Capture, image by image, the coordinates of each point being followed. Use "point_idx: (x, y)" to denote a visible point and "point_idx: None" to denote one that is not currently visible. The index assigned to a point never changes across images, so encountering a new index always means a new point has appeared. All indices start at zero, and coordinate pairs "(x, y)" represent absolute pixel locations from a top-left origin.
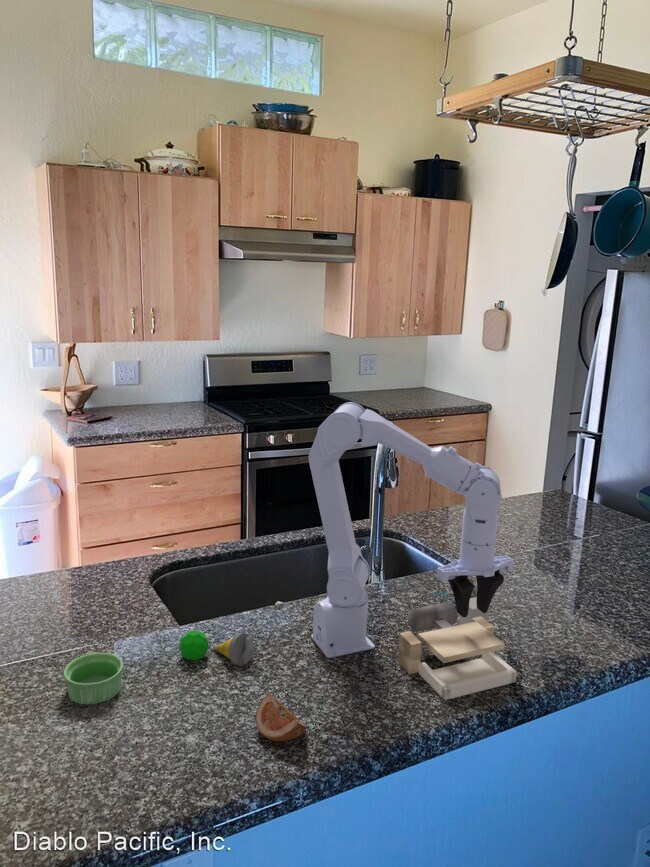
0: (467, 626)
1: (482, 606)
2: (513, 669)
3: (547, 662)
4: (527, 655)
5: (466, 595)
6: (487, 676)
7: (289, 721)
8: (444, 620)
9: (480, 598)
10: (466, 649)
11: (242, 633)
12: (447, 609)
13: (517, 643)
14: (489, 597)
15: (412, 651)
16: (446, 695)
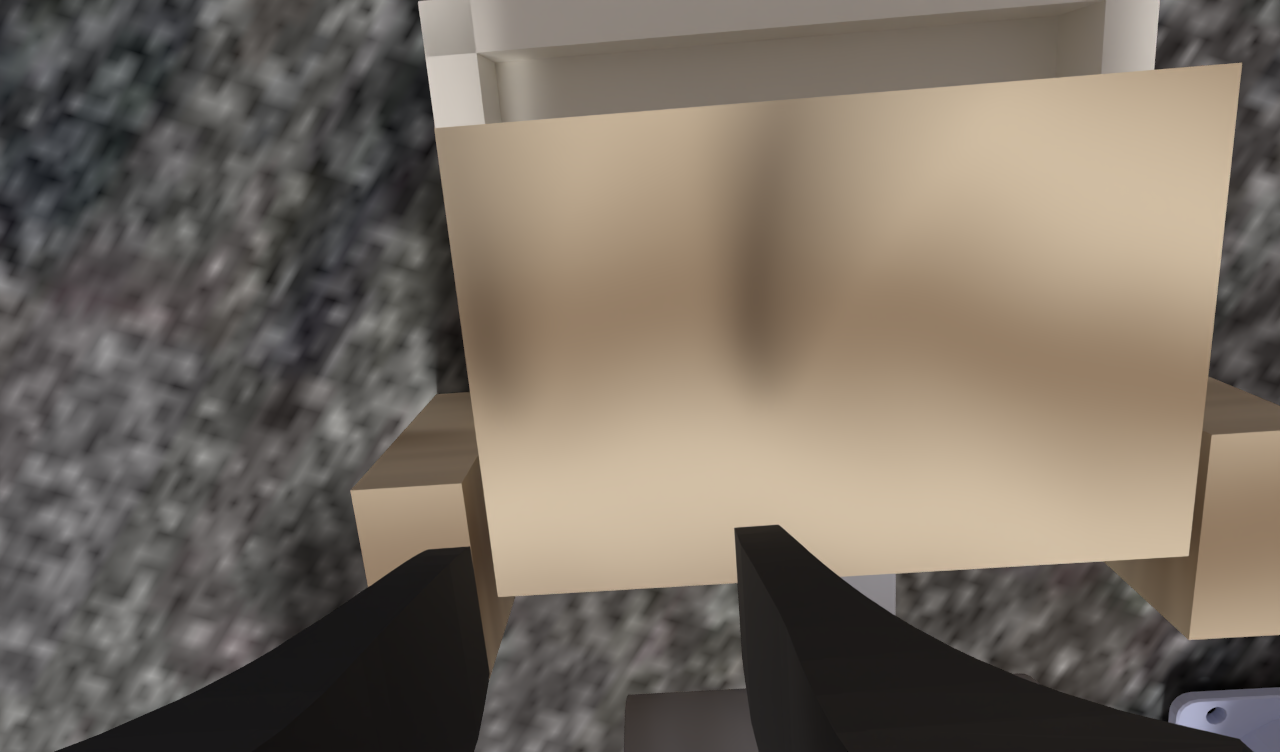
0: (636, 540)
1: (458, 622)
2: (428, 40)
3: (56, 217)
4: (163, 340)
5: (943, 672)
6: (706, 11)
7: None
8: None
9: (437, 743)
10: (906, 144)
11: None
12: None
13: (162, 493)
14: (349, 644)
15: (1258, 406)
16: None
